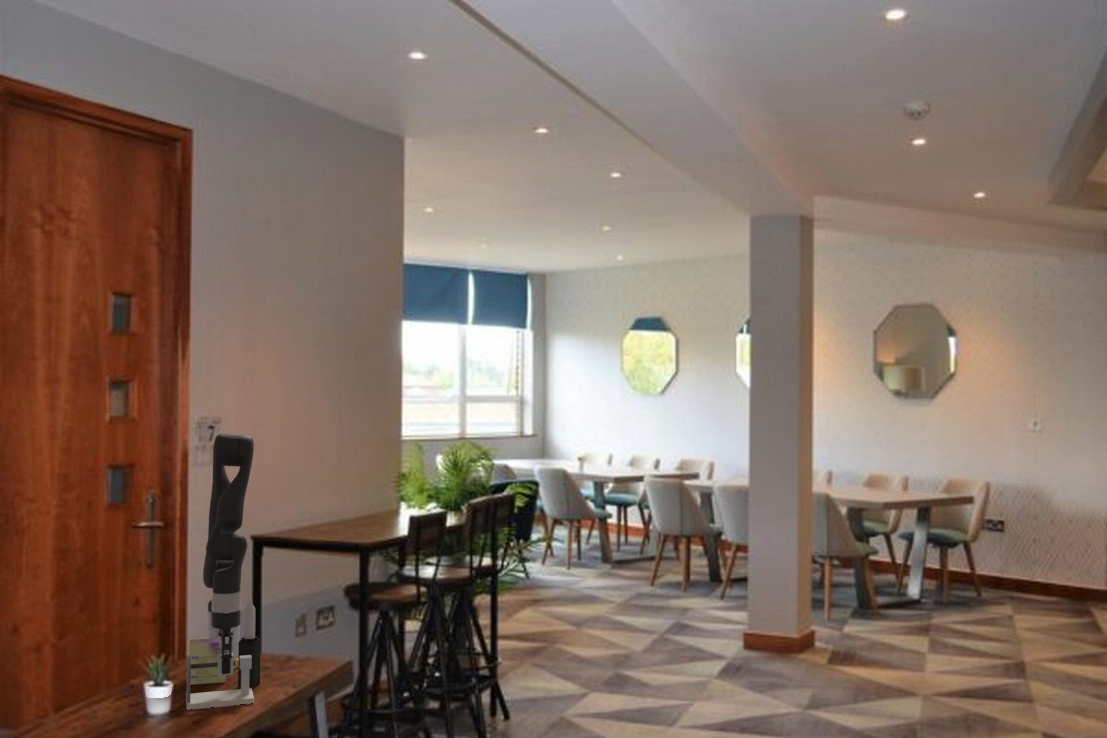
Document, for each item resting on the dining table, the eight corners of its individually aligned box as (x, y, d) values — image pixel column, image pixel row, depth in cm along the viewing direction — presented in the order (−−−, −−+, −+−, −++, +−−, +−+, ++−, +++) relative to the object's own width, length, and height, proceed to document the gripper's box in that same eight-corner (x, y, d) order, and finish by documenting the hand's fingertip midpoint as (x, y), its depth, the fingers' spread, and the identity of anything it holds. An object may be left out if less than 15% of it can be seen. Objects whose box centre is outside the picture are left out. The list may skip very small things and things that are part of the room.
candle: (252, 688, 295) (254, 598, 295) (236, 687, 296) (237, 598, 296) (261, 683, 300) (262, 595, 300) (245, 682, 301) (246, 594, 301)
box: (226, 677, 306) (226, 636, 306) (226, 682, 300) (227, 641, 301) (188, 680, 303) (189, 639, 303) (188, 685, 297) (188, 643, 298)
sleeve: (216, 671, 284) (217, 653, 284) (232, 670, 285) (232, 652, 285) (217, 675, 280) (217, 656, 280) (233, 674, 281) (233, 655, 281)
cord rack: (186, 699, 284) (186, 654, 284) (251, 693, 289) (251, 650, 290) (186, 709, 274) (187, 663, 274) (254, 703, 280) (254, 658, 280)
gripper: (210, 604, 288) (209, 664, 288) (212, 614, 275) (211, 678, 274) (238, 602, 291) (238, 662, 290) (242, 612, 277) (241, 675, 277)
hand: (225, 670), depth 282 cm, fingers open, 7 cm apart
